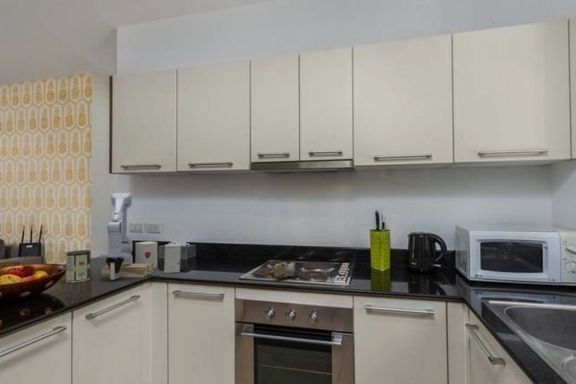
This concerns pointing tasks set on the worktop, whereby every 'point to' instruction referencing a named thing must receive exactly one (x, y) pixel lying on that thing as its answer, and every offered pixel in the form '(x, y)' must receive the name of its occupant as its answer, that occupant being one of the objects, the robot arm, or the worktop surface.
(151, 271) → the block
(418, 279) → the worktop surface
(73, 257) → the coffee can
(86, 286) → the worktop surface
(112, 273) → the bracket plate
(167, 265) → the skincare box
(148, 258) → the supplement box
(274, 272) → the ceramic sculpture
